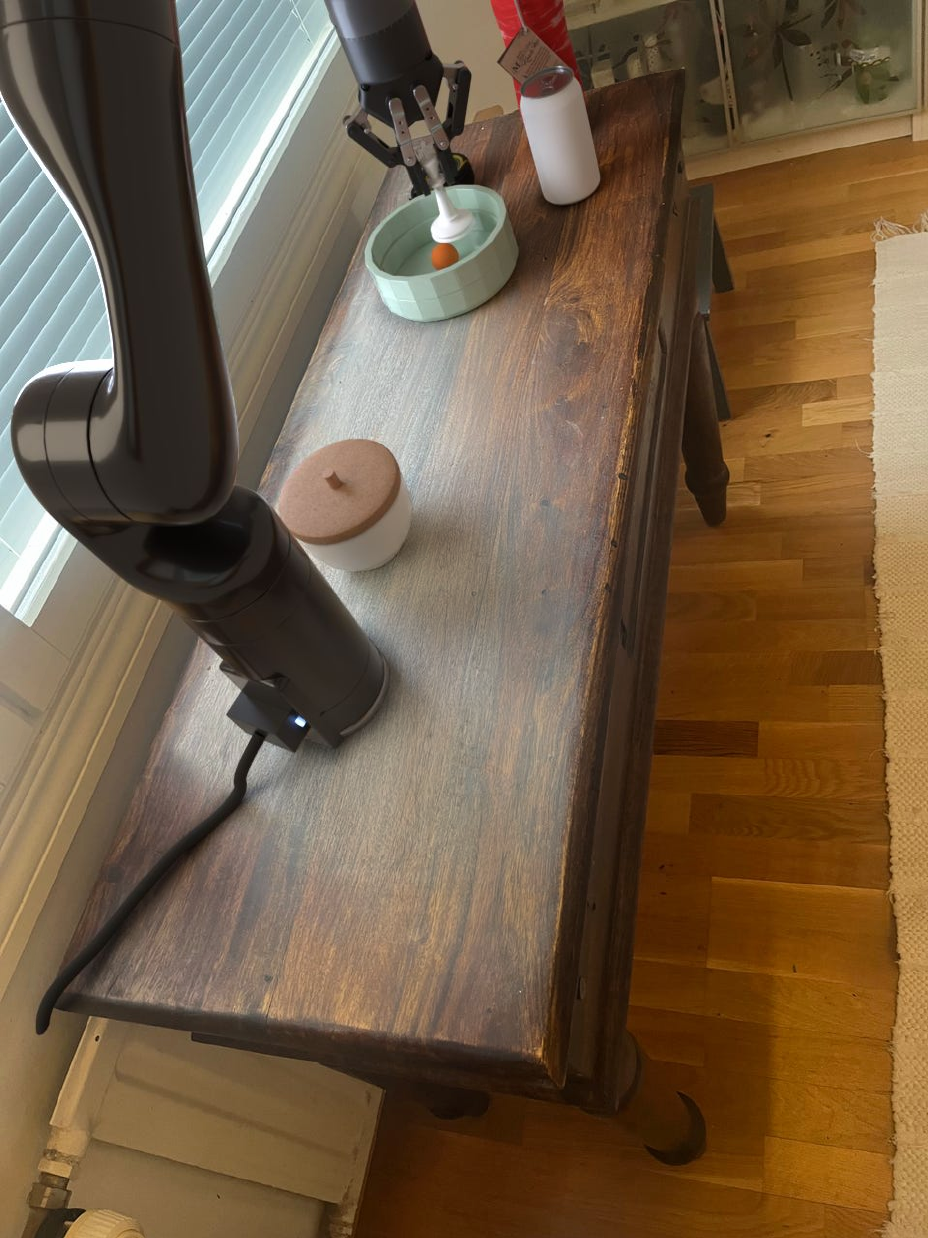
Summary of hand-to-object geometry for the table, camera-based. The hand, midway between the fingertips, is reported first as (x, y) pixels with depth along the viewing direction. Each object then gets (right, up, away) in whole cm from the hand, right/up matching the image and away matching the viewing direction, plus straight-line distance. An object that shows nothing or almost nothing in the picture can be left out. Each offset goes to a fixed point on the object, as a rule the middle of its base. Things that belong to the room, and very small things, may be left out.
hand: (438, 185), depth 96 cm
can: (+15, +3, +7) cm, 17 cm away
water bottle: (+14, +12, +14) cm, 23 cm away
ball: (+1, -6, +4) cm, 7 cm away
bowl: (+1, -7, +5) cm, 9 cm away
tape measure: (0, +5, +14) cm, 15 cm away
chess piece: (+2, -3, +4) cm, 5 cm away
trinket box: (-5, -38, -13) cm, 41 cm away
